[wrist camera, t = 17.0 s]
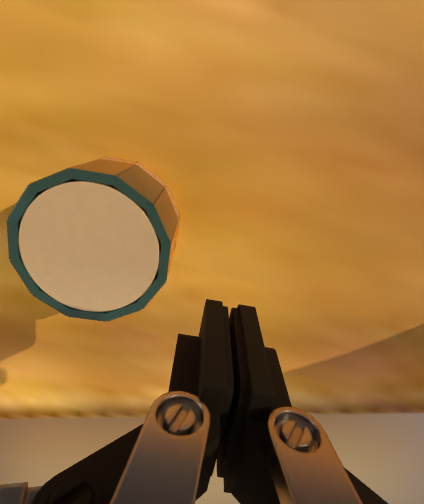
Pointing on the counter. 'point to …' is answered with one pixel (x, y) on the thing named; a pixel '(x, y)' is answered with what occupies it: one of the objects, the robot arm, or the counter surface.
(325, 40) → the counter surface
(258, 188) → the counter surface
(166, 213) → the teal cup
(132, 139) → the counter surface
